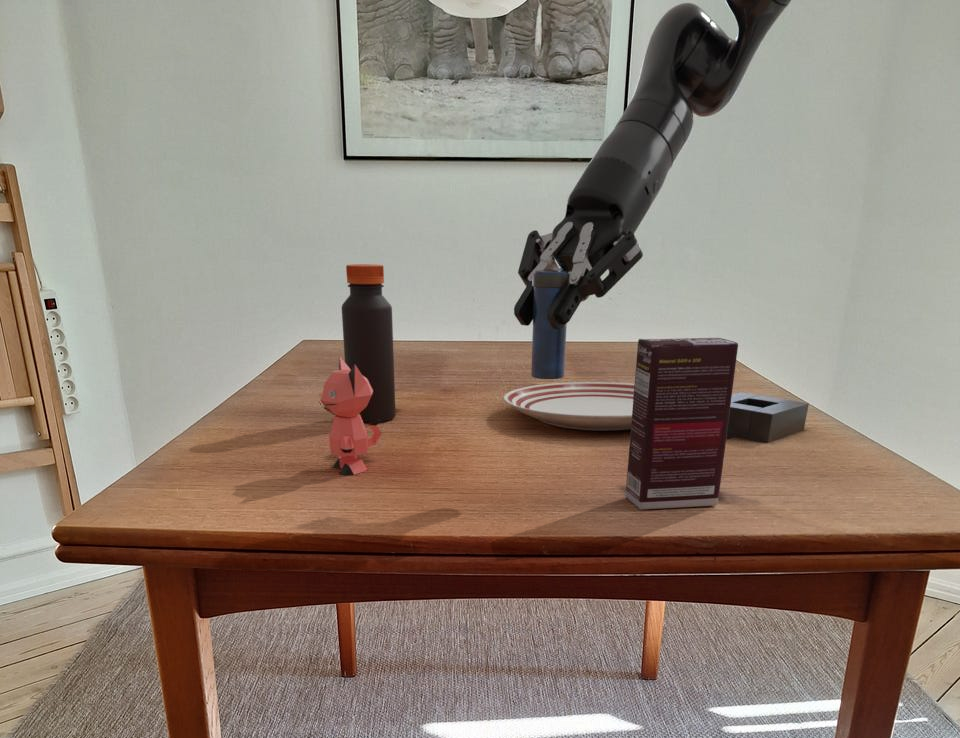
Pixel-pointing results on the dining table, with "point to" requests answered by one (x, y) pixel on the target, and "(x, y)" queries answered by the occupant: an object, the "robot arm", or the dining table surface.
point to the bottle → (370, 338)
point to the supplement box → (679, 421)
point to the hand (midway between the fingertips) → (537, 321)
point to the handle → (547, 326)
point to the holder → (764, 417)
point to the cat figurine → (349, 417)
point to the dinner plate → (577, 404)
